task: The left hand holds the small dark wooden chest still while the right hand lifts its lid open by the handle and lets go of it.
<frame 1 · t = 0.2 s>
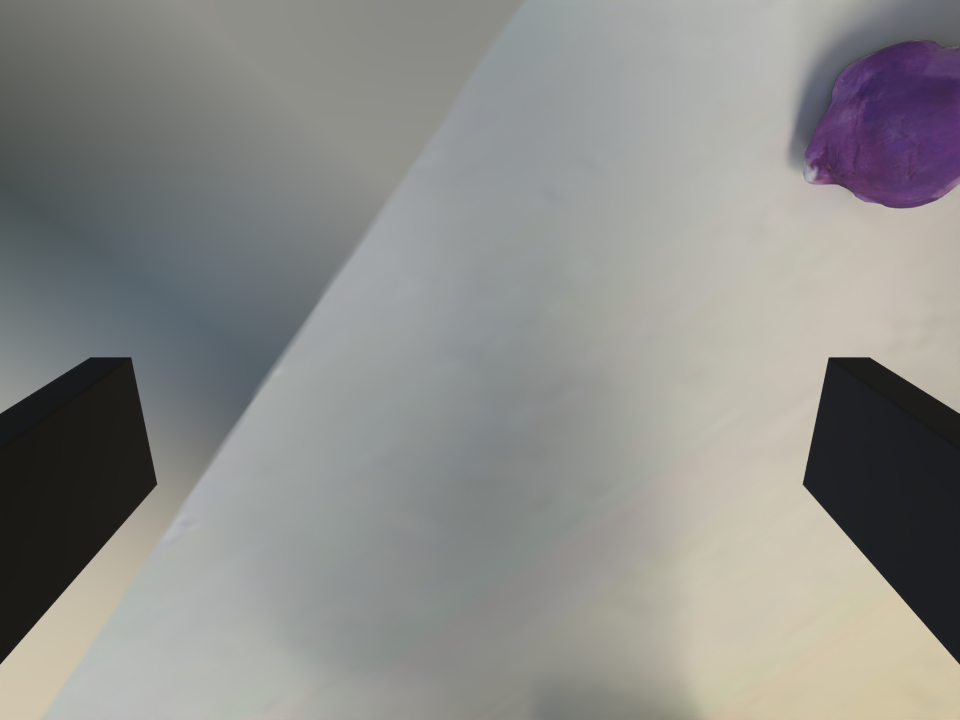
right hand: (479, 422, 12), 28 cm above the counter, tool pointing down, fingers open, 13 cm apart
figurine: (891, 109, 36), on the counter
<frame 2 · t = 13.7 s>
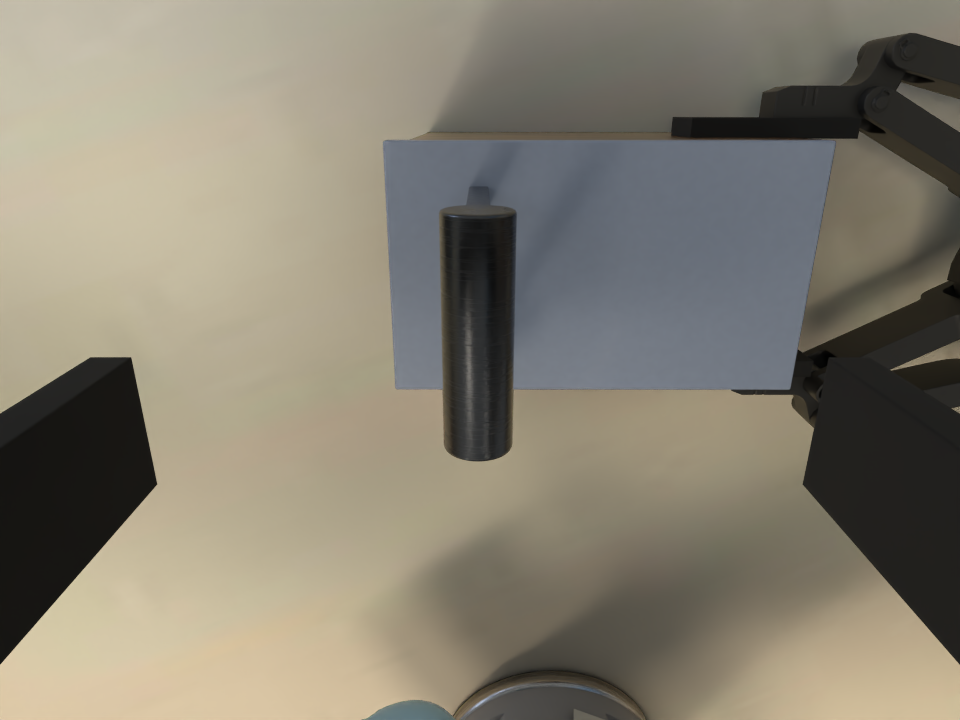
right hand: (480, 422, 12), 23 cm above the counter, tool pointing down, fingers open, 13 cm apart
left hand: (668, 250, 28), fingers closed on chest, 9 cm apart
lid: (620, 300, 20), point 14 cm above the counter, hinge at 0.0°
chest: (572, 226, 34), on the counter, touching left hand
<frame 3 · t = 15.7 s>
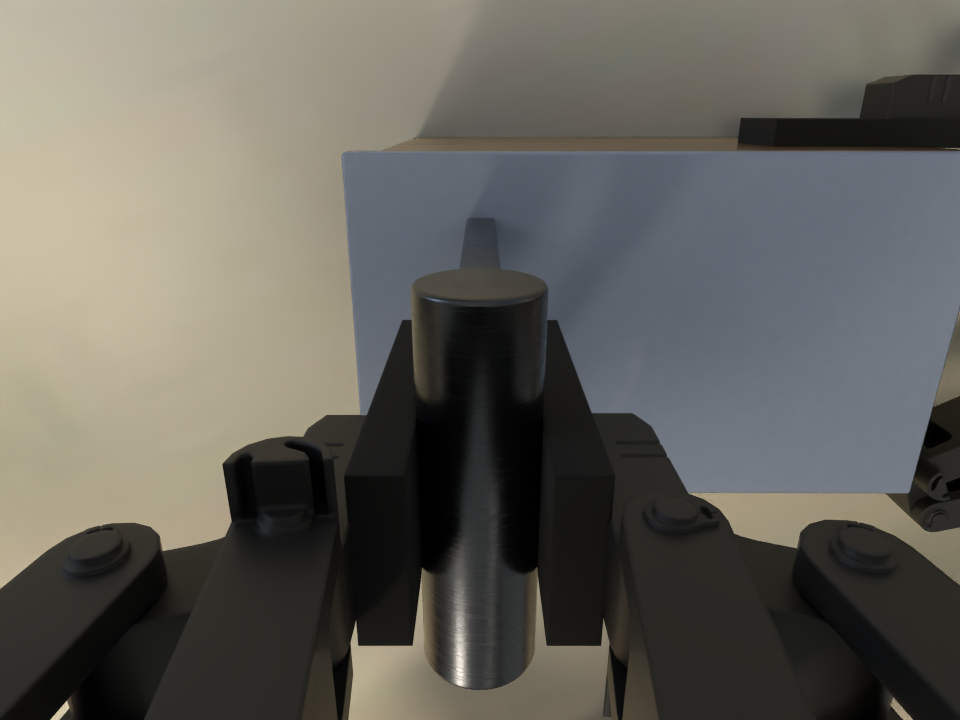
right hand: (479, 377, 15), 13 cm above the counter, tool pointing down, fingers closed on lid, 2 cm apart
lid: (695, 396, 13), point 14 cm above the counter, hinge at -0.1°, touching right hand
chest: (597, 255, 27), on the counter, touching left hand
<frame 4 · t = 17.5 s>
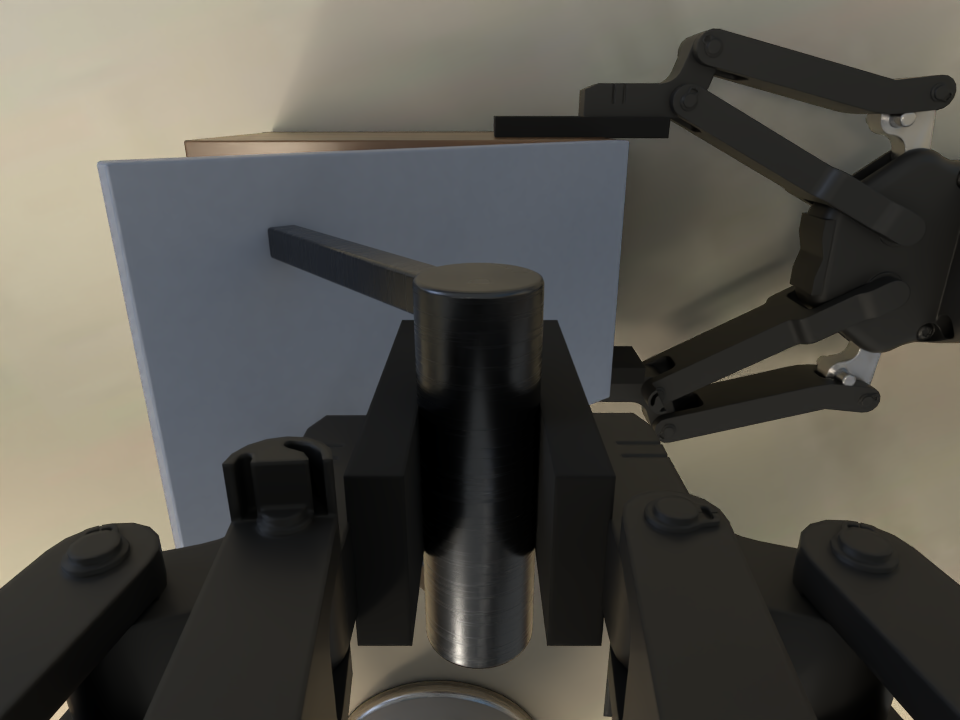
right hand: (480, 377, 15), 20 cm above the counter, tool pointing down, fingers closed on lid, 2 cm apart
left hand: (493, 253, 27), fingers closed on chest, 9 cm apart
lid: (531, 354, 16), point 19 cm above the counter, hinge at 39.0°, touching right hand
chest: (425, 228, 33), on the counter, touching left hand
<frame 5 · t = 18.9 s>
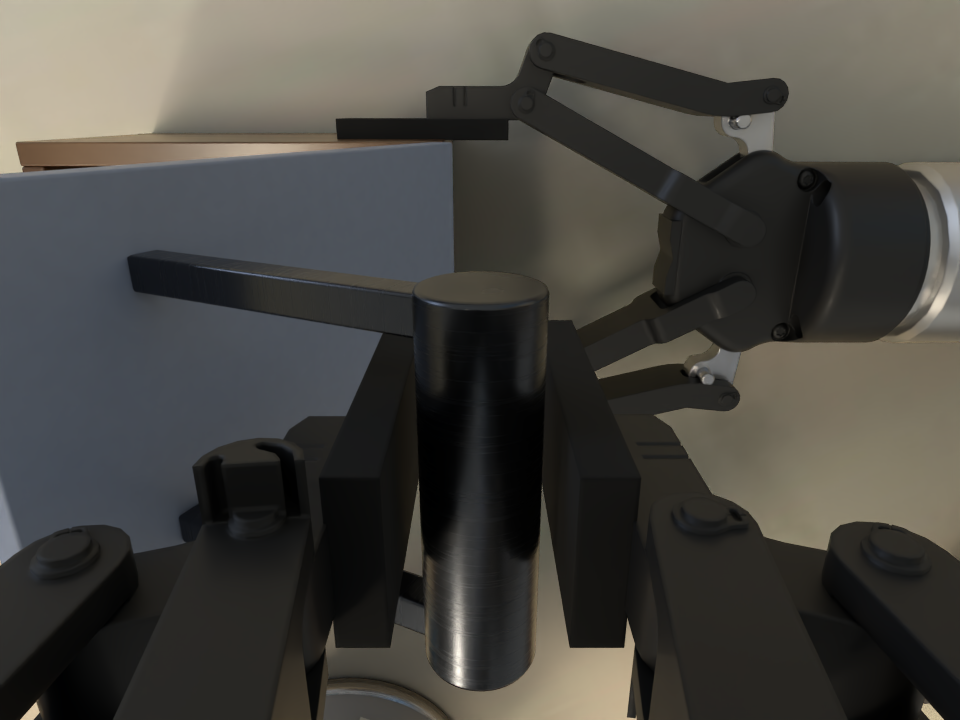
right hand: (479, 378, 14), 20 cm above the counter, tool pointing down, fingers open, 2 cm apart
left hand: (352, 253, 28), fingers closed on chest, 9 cm apart
lid: (433, 362, 15), point 19 cm above the counter, hinge at 63.3°
chest: (310, 228, 33), on the counter, touching left hand
when the left hand's fingers open (6 cm above the counter, at t = 22.8 s): chest stays where it is, on the counter.
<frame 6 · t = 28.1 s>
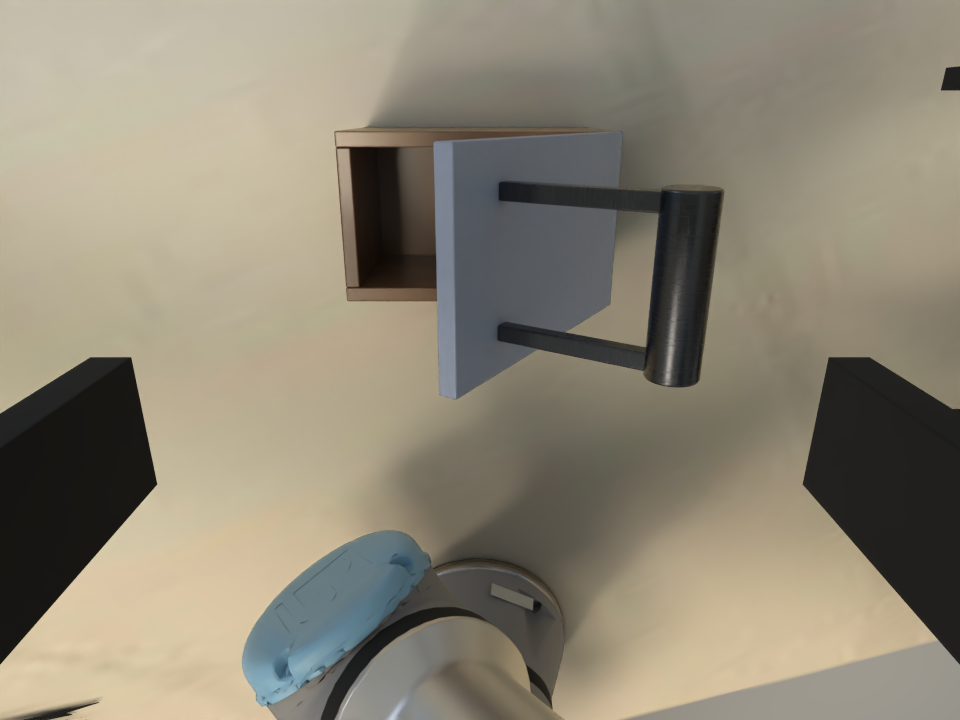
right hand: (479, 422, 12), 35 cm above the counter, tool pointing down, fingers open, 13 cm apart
lid: (630, 254, 27), point 19 cm above the counter, hinge at 57.7°
chest: (475, 198, 45), on the counter
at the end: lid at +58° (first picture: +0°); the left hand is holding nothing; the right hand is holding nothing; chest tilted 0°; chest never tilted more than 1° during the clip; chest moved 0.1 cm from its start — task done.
